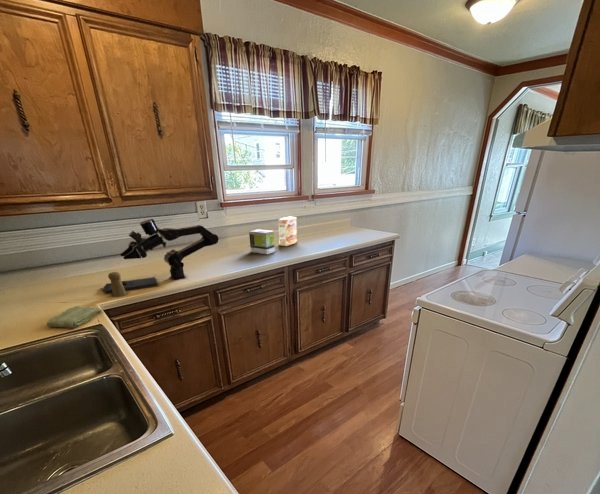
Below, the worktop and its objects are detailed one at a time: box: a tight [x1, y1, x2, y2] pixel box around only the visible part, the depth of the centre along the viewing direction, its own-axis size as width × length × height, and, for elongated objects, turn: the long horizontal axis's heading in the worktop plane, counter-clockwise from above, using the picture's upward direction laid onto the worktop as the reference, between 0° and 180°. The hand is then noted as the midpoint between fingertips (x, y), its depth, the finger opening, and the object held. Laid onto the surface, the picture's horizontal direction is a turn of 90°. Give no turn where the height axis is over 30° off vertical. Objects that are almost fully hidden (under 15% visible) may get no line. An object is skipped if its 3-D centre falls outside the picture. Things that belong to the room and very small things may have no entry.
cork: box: [108, 271, 127, 298], centre depth 158 cm, size 6×6×11 cm
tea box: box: [248, 229, 276, 255], centre depth 230 cm, size 15×10×15 cm, turn 58°
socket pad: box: [103, 276, 158, 294], centre depth 170 cm, size 25×14×2 cm, turn 117°
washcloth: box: [46, 305, 103, 329], centre depth 134 cm, size 13×18×3 cm
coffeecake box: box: [278, 216, 298, 247], centre depth 251 cm, size 15×7×20 cm, turn 147°
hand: (122, 256), depth 163 cm, fingers open, 9 cm apart
